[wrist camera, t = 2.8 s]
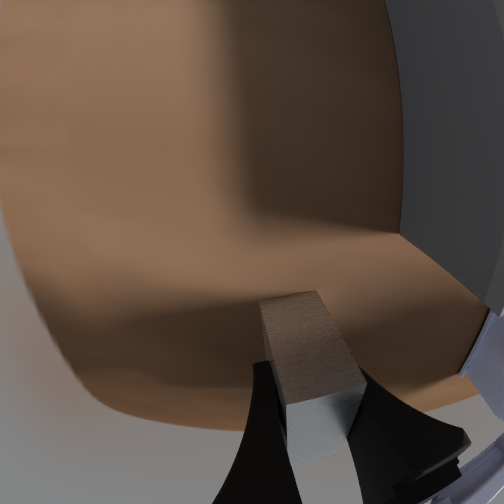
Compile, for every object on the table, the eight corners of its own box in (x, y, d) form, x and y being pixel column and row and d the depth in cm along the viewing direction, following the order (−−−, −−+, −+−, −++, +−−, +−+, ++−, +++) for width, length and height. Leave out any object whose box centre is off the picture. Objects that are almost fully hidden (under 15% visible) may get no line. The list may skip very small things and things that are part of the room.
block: (312, 377, 14) (339, 453, 9) (269, 386, 14) (287, 467, 9) (316, 290, 11) (367, 383, 7) (259, 300, 11) (285, 405, 7)
